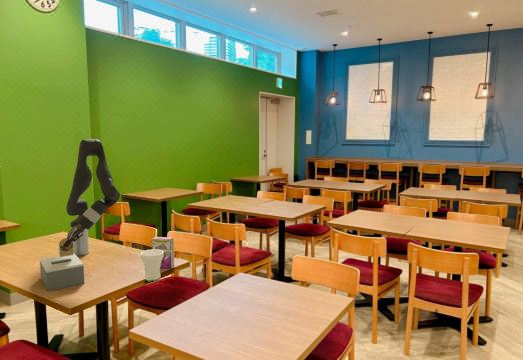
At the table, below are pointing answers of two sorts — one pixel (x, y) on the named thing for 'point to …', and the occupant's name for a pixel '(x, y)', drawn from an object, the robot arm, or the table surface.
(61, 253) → the token
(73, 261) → the coin box
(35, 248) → the table surface
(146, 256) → the cup
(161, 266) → the candy bar box
